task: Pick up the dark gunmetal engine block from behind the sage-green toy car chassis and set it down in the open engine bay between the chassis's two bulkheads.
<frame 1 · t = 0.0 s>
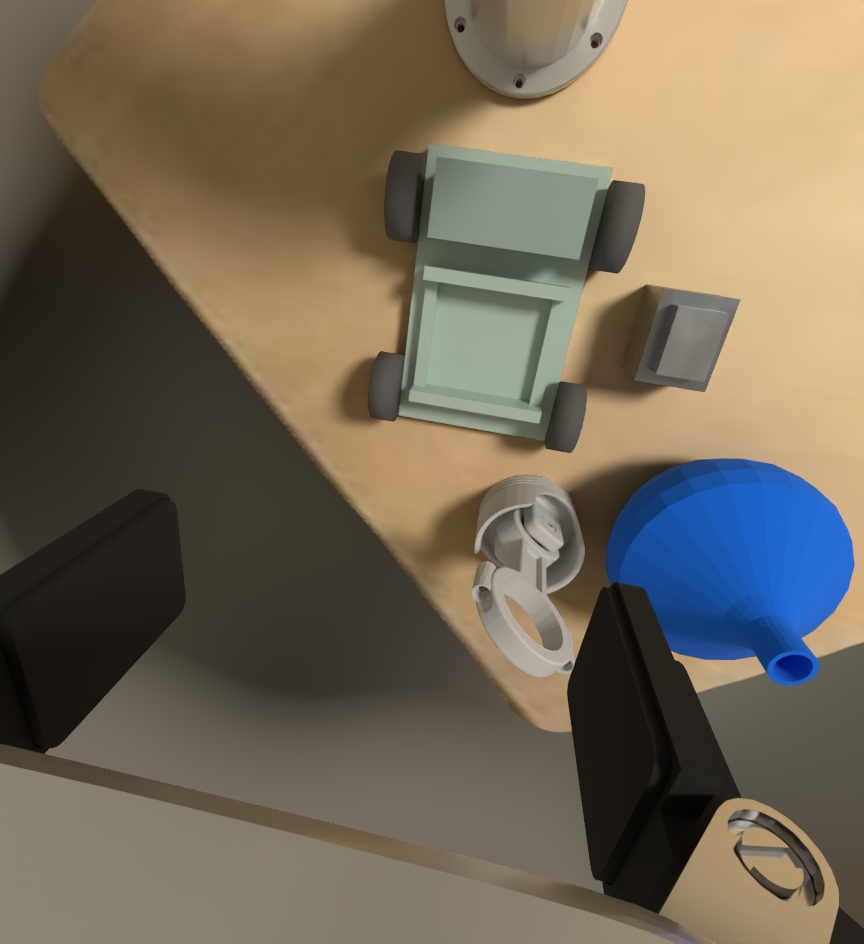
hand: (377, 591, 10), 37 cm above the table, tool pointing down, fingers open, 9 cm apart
engine block: (665, 332, 41), on the table
chassis: (492, 305, 42), on the table
engine component: (523, 514, 51), on the table
vase: (689, 518, 48), on the table
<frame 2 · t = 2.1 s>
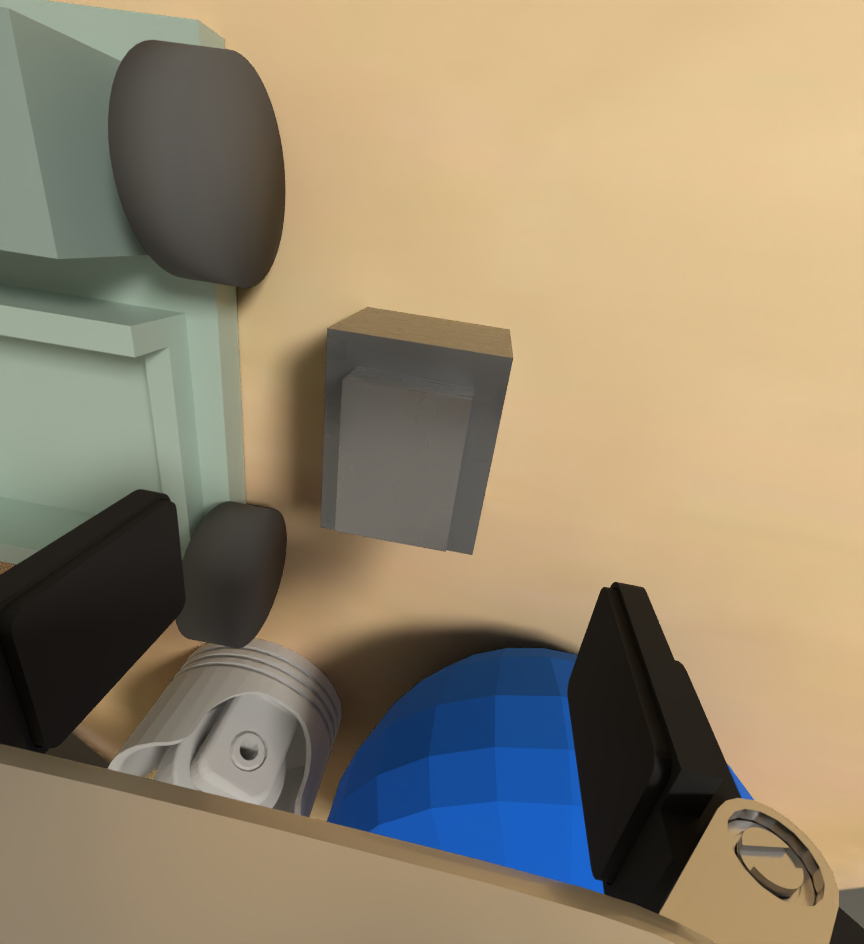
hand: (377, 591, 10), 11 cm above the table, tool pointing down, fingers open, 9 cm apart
engine block: (427, 404, 20), on the table
chassis: (83, 347, 21), on the table
engine component: (257, 692, 29), on the table
vase: (528, 712, 27), on the table
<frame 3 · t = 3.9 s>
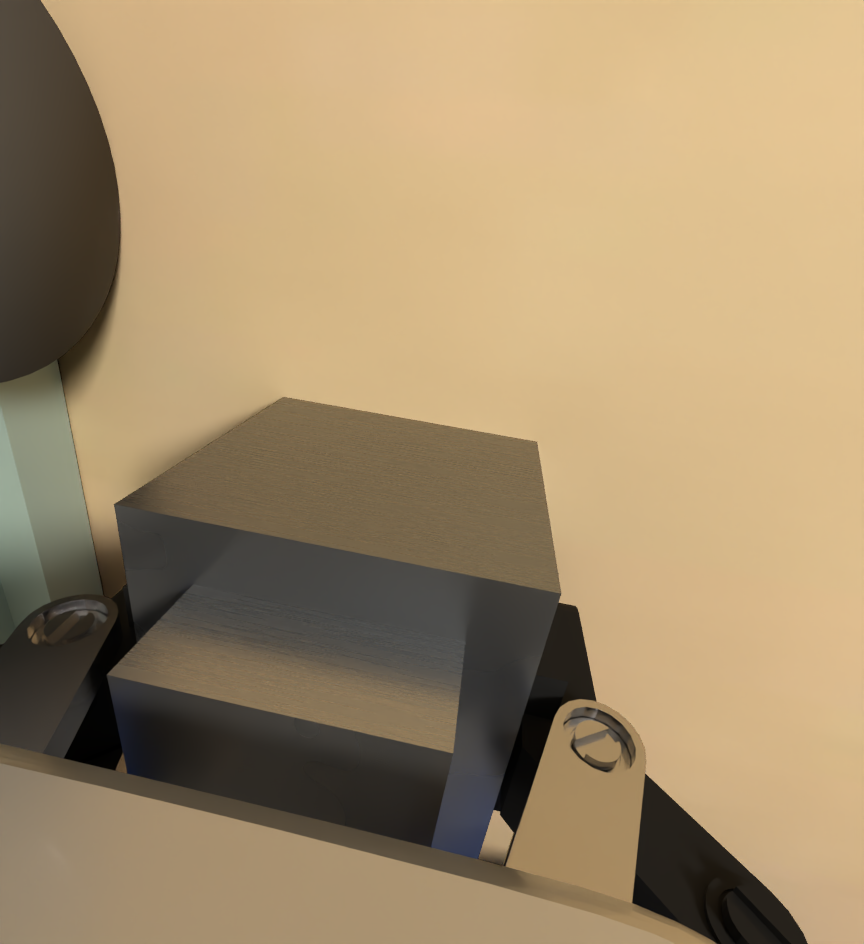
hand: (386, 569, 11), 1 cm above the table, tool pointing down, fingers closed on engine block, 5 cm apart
engine block: (391, 554, 12), on the table, touching gripper
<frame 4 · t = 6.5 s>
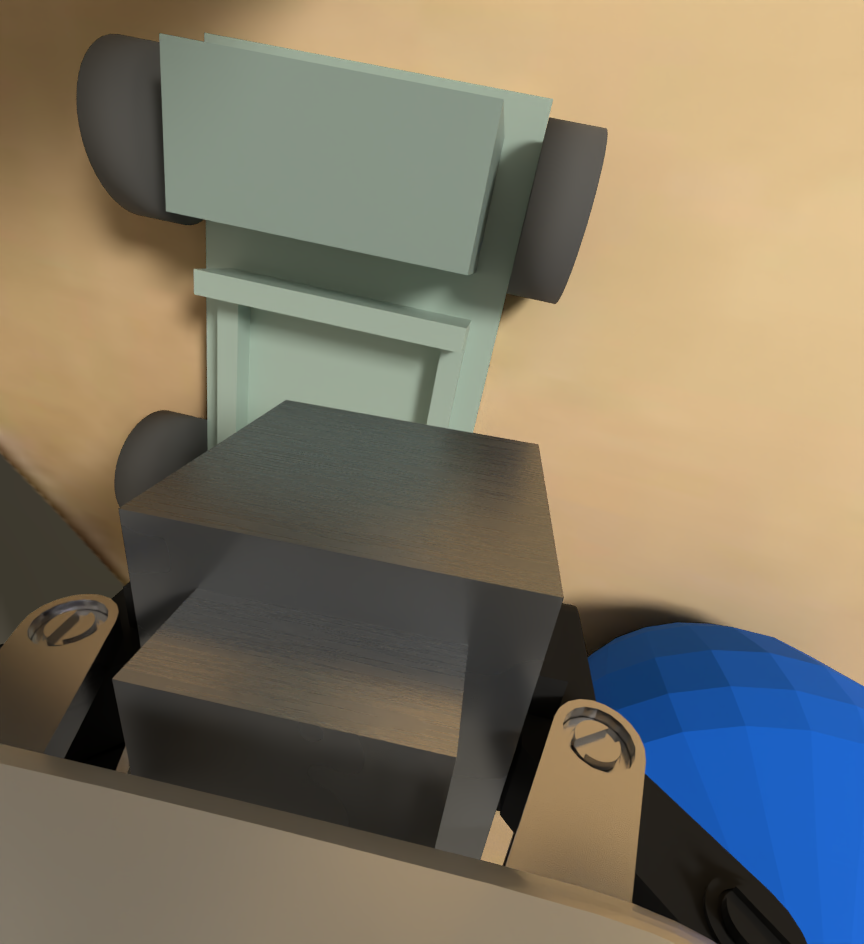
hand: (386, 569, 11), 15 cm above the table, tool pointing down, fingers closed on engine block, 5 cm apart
engine block: (393, 556, 12), point 15 cm above the table, touching gripper
chassis: (352, 343, 25), on the table
vase: (670, 687, 31), on the table
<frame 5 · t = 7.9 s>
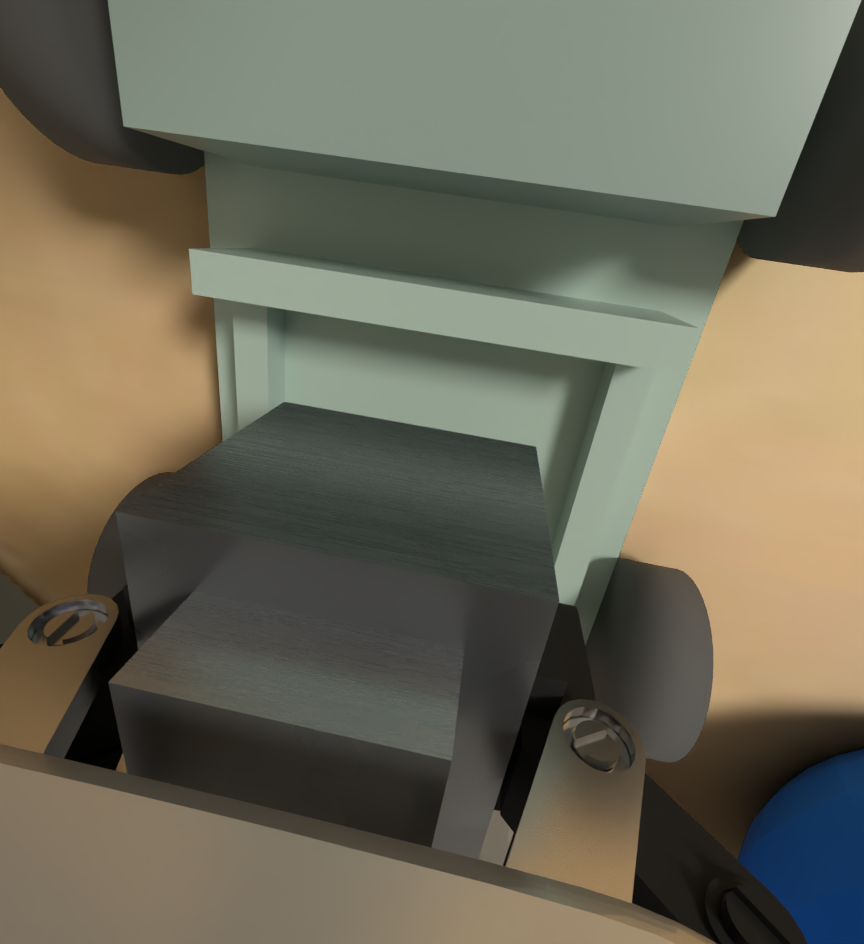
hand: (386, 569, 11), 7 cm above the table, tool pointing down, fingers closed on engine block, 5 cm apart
engine block: (391, 558, 12), point 6 cm above the table, touching gripper
chassis: (443, 356, 16), on the table
engine component: (523, 771, 24), on the table
when the fingers open (3 cm above the table, at t = 9.0 s): engine block drops 1 cm, resting on chassis.
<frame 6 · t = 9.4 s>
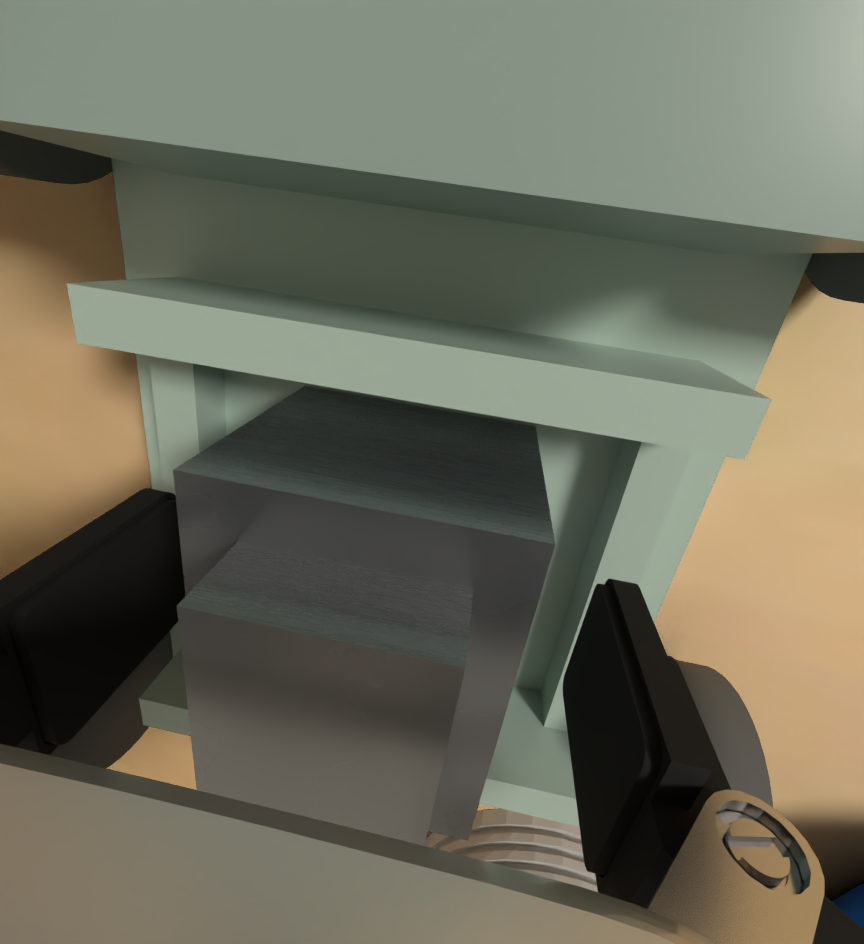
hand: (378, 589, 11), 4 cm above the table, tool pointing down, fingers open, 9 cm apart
engine block: (401, 532, 13), point 1 cm above the table, touching chassis
chassis: (424, 407, 13), on the table
engine component: (523, 872, 21), on the table
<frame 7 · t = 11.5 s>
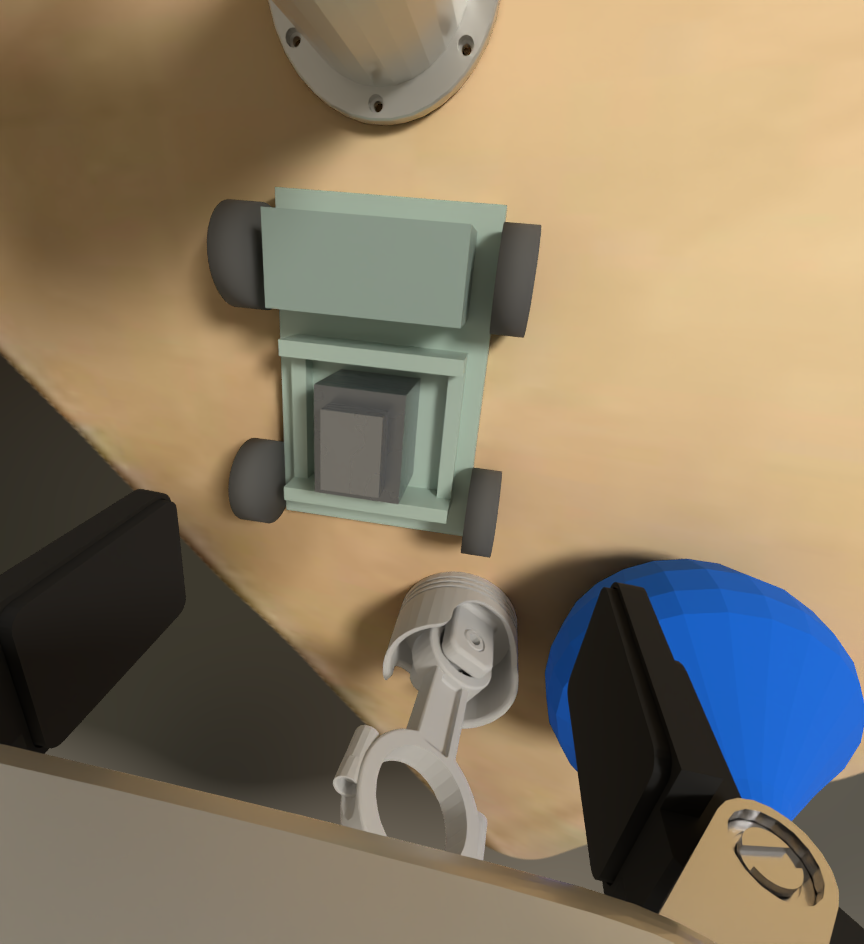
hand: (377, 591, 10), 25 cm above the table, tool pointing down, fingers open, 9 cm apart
engine block: (378, 423, 34), point 1 cm above the table, touching chassis
chassis: (385, 376, 34), on the table
engine component: (454, 616, 41), on the table
vase: (656, 620, 39), on the table
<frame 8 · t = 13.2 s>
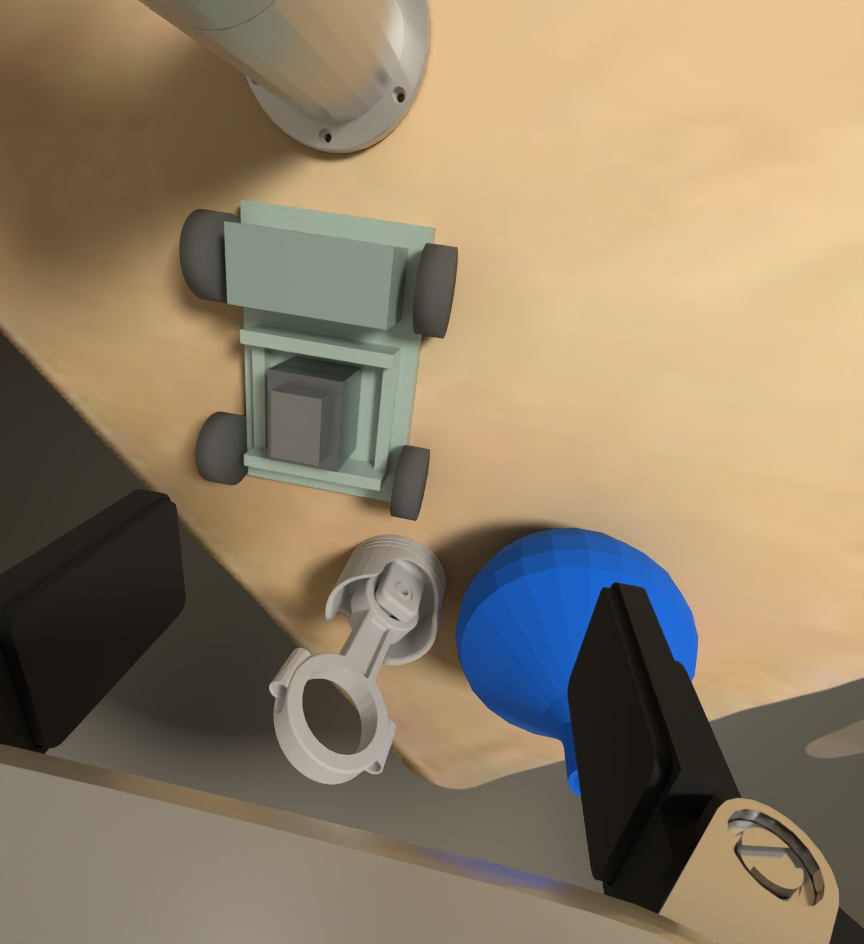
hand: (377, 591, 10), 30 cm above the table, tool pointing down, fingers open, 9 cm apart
engine block: (326, 403, 40), point 1 cm above the table, touching chassis
chassis: (334, 364, 40), on the table
engine component: (392, 574, 48), on the table
vase: (560, 581, 46), on the table
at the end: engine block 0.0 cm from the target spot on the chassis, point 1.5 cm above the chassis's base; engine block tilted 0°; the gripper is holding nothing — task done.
